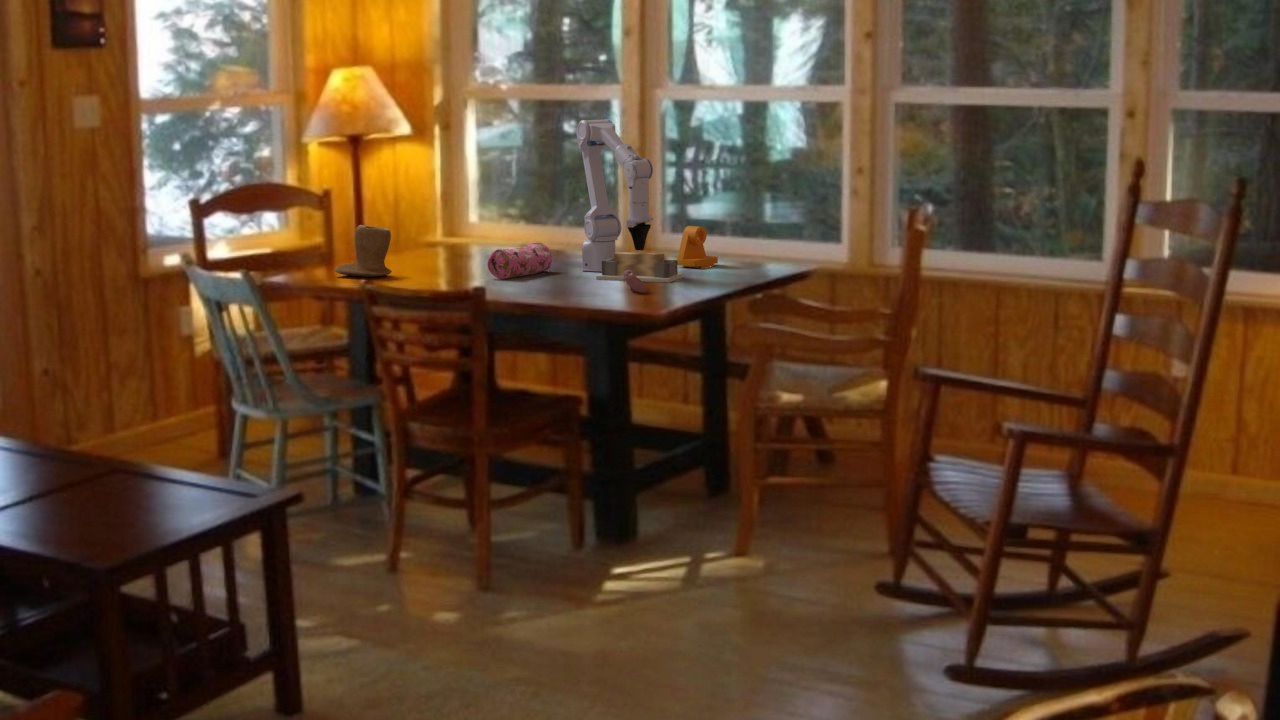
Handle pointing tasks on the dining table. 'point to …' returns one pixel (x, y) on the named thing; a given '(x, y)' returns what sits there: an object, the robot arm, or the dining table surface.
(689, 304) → the dining table surface
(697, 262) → the bracket
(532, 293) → the dining table surface
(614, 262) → the cradle
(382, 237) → the top hat
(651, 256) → the wooden block
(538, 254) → the pencil case
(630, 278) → the pink rounded piece
